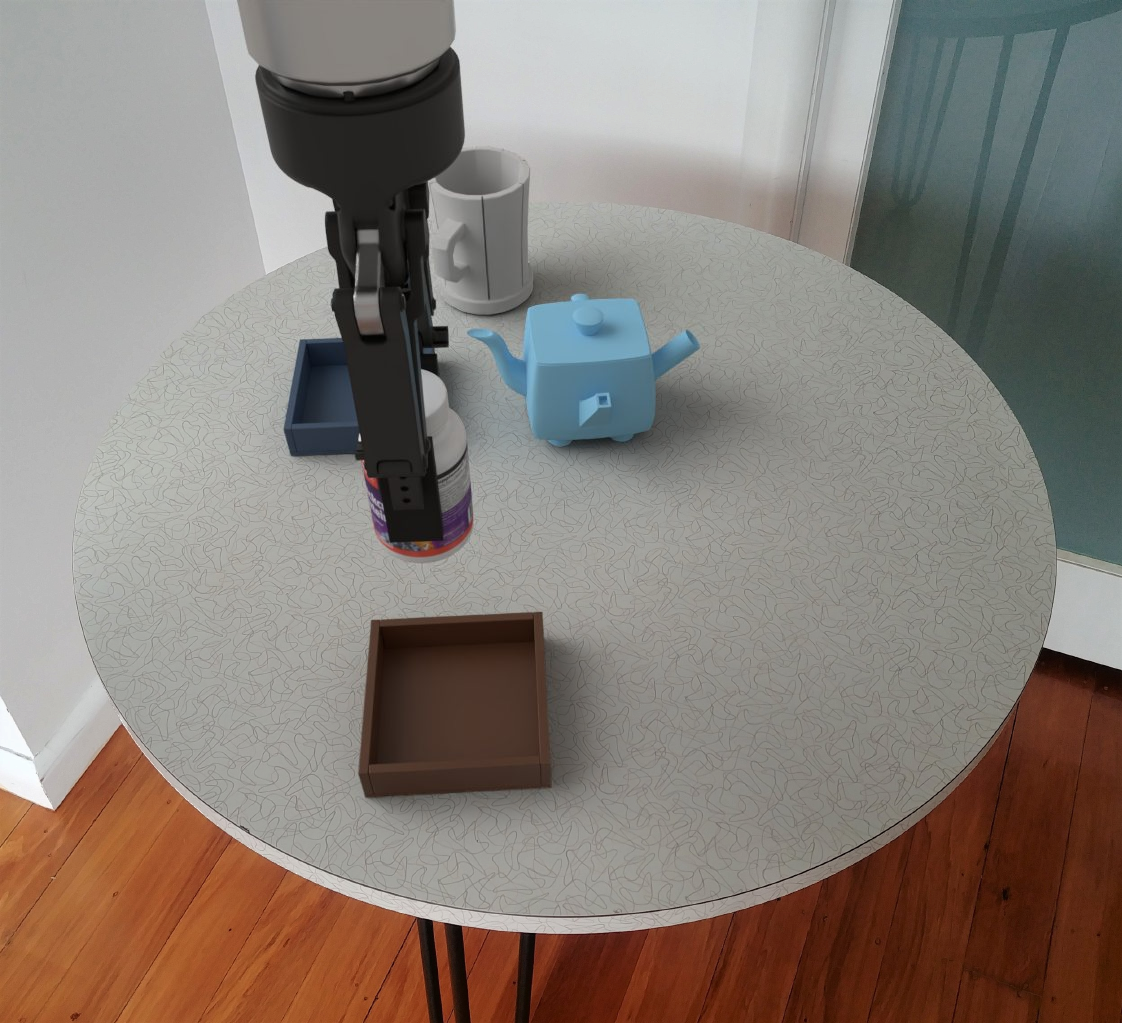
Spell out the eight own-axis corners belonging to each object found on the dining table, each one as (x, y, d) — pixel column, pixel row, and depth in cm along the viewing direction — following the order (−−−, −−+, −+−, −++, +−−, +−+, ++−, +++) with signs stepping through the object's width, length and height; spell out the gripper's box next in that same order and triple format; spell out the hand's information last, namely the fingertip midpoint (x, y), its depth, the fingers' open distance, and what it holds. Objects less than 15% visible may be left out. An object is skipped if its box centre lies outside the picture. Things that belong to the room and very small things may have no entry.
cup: (541, 324, 95) (538, 205, 86) (440, 333, 94) (426, 213, 86) (528, 258, 102) (524, 142, 93) (434, 266, 101) (421, 149, 93)
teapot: (679, 358, 92) (688, 259, 84) (712, 472, 82) (726, 371, 75) (471, 374, 90) (462, 274, 83) (480, 491, 81) (470, 390, 74)
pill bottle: (354, 538, 57) (324, 403, 50) (418, 480, 60) (398, 344, 53) (432, 582, 55) (412, 447, 48) (494, 520, 58) (484, 383, 51)
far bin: (290, 456, 84) (283, 429, 82) (306, 366, 91) (299, 339, 89) (432, 450, 84) (428, 423, 82) (436, 360, 92) (432, 333, 90)
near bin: (365, 797, 64) (357, 773, 61) (376, 645, 71) (370, 619, 69) (551, 787, 64) (550, 763, 62) (543, 637, 72) (542, 611, 69)
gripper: (452, 180, 33) (491, 631, 50) (463, -44, 45) (491, 377, 62) (206, 186, 32) (329, 637, 49) (286, -41, 45) (362, 381, 62)
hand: (419, 492), depth 56 cm, fingers closed on pill bottle, 5 cm apart
